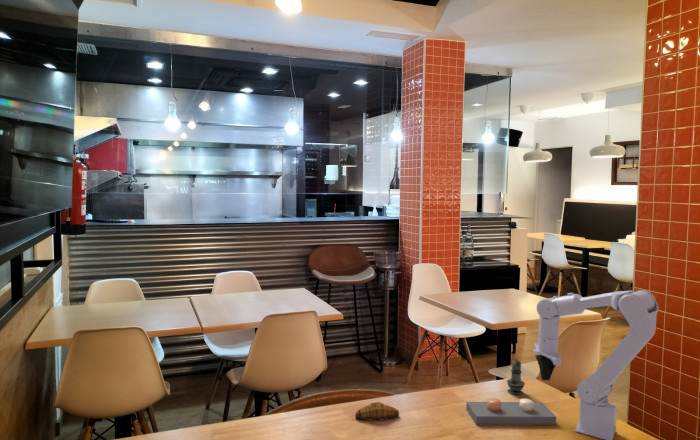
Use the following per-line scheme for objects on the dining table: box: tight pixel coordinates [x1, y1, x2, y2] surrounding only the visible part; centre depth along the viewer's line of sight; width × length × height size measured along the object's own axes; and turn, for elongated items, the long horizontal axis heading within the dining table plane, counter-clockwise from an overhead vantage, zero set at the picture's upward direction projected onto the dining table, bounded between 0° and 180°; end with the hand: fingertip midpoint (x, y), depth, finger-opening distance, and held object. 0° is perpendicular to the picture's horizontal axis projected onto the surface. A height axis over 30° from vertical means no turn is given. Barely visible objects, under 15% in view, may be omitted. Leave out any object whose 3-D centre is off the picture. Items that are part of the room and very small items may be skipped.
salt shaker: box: [506, 358, 526, 396], centre depth 167 cm, size 6×6×12 cm
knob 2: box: [519, 398, 535, 412], centre depth 149 cm, size 4×4×5 cm
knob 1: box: [486, 397, 502, 412], centre depth 148 cm, size 4×4×5 cm
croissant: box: [354, 401, 400, 421], centre depth 146 cm, size 14×7×5 cm, turn 100°
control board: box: [465, 401, 557, 426], centre depth 149 cm, size 24×10×2 cm, turn 92°
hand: (545, 379), depth 152 cm, fingers closed
